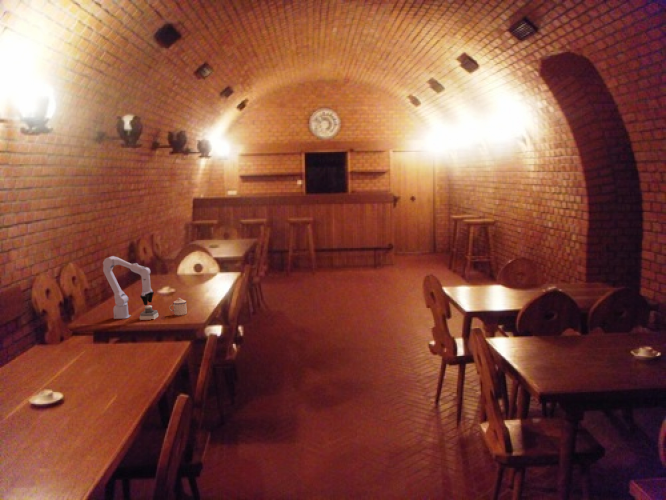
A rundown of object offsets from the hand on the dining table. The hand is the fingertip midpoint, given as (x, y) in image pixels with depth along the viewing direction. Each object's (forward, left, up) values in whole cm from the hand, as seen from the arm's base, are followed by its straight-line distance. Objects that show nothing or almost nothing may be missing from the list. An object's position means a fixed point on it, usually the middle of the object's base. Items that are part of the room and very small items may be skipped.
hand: (147, 303), depth 416 cm
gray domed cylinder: (+2, -4, -7) cm, 8 cm away
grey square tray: (+2, -4, -9) cm, 10 cm away
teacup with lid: (+20, +5, -10) cm, 22 cm away
